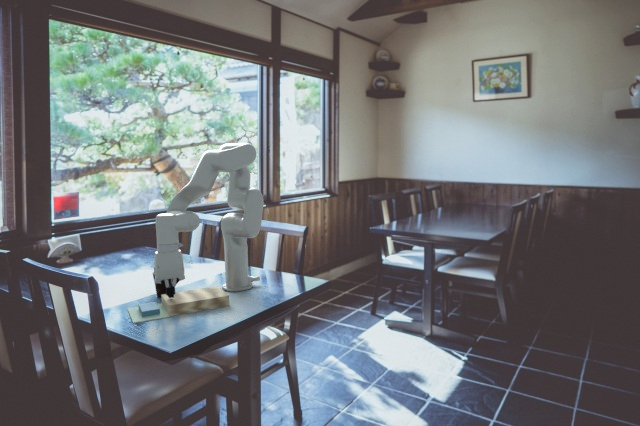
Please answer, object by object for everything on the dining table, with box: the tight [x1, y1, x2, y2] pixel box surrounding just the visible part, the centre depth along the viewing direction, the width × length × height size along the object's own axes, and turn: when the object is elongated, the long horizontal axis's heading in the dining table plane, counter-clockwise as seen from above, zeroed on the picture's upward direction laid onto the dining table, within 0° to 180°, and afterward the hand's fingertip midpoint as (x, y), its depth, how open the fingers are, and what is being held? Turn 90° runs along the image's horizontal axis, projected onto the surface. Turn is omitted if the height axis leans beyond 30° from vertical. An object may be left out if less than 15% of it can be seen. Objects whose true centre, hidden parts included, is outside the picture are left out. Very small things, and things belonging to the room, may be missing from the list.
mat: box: [127, 302, 171, 324], centre depth 175 cm, size 12×16×1 cm
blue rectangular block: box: [137, 301, 160, 317], centre depth 175 cm, size 6×9×2 cm, turn 28°
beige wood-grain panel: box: [160, 285, 230, 317], centre depth 182 cm, size 22×14×4 cm, turn 118°
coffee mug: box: [152, 271, 171, 299], centre depth 195 cm, size 12×9×10 cm
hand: (170, 296), depth 178 cm, fingers closed
